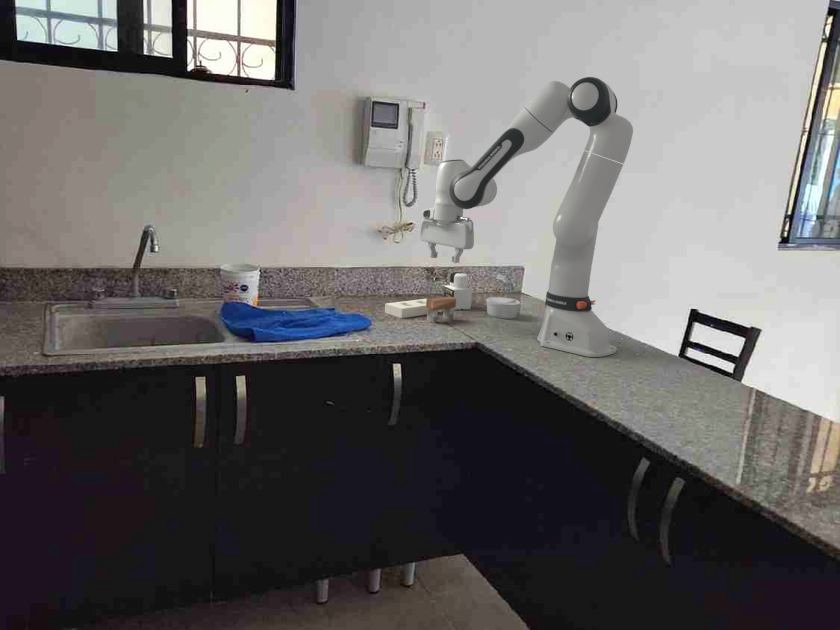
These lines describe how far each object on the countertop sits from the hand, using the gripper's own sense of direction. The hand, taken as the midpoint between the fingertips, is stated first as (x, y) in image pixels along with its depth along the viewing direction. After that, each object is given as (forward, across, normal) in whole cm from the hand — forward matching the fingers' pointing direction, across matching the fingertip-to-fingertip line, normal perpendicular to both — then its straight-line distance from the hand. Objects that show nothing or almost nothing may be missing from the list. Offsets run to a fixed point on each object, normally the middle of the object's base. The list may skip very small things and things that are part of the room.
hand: (444, 260), depth 203 cm
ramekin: (+19, -5, -24) cm, 31 cm away
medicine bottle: (+19, +11, -19) cm, 29 cm away
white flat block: (+19, +12, 0) cm, 22 cm away
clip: (+19, 0, 0) cm, 19 cm away
